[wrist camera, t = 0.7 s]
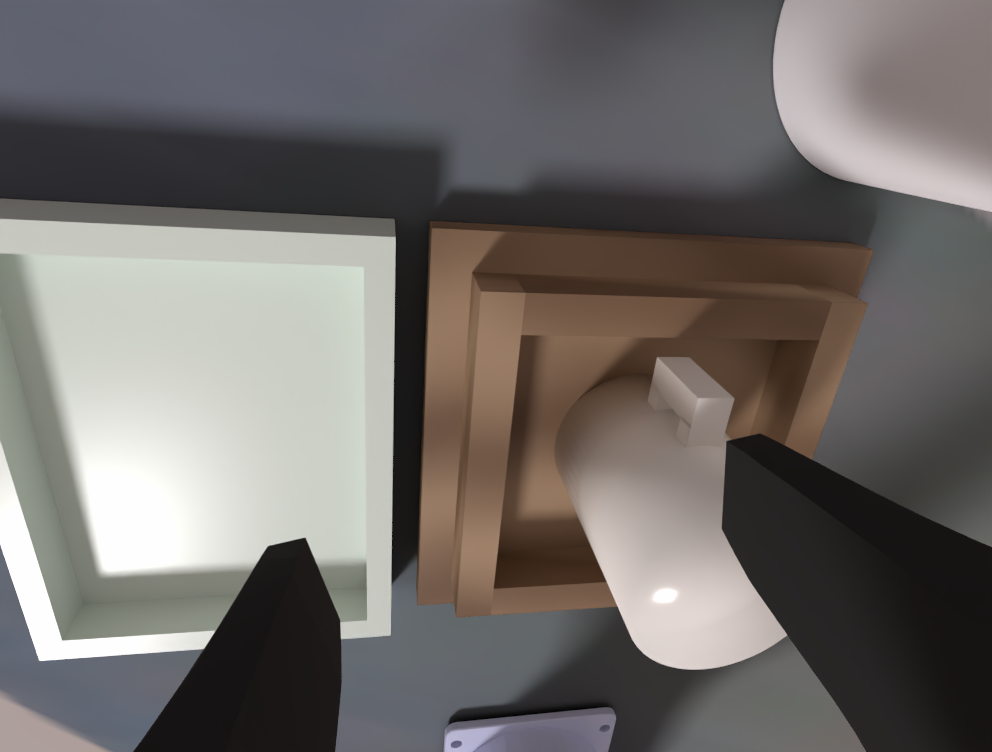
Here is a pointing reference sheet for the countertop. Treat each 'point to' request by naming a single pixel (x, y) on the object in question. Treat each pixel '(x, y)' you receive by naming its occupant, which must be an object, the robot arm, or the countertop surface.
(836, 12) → the cup
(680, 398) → the white rounded piece
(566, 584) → the tray
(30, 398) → the tray
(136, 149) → the countertop surface
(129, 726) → the countertop surface
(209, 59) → the countertop surface
